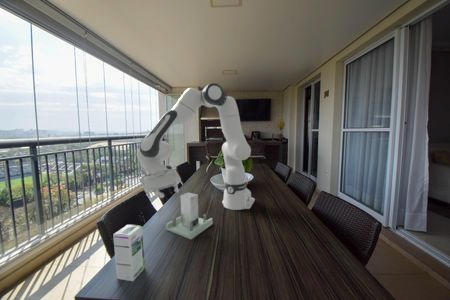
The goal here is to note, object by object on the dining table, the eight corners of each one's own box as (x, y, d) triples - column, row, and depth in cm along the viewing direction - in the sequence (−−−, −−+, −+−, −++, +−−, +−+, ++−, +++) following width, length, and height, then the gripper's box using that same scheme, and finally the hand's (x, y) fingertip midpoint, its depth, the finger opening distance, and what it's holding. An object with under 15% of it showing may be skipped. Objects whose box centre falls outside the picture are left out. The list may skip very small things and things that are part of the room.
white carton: (189, 220, 90) (188, 192, 88) (198, 223, 86) (198, 194, 85) (181, 224, 85) (180, 195, 84) (191, 228, 82) (190, 197, 81)
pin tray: (189, 216, 96) (188, 207, 96) (212, 224, 88) (212, 213, 88) (166, 229, 84) (165, 218, 83) (191, 239, 76) (190, 227, 75)
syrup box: (133, 282, 54) (130, 235, 53) (115, 279, 55) (112, 233, 54) (145, 268, 60) (143, 225, 58) (129, 265, 61) (126, 223, 60)
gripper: (140, 172, 85) (155, 197, 81) (174, 165, 103) (188, 185, 98) (135, 180, 88) (149, 204, 84) (169, 172, 105) (182, 192, 101)
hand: (170, 194), depth 91 cm, fingers open, 8 cm apart
